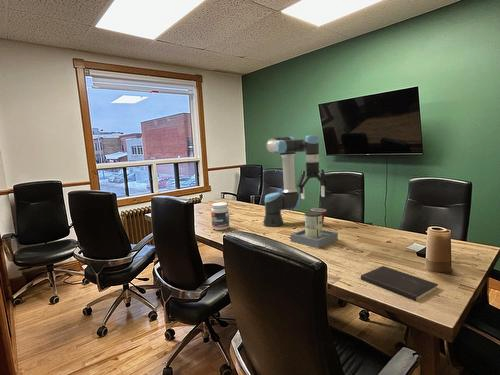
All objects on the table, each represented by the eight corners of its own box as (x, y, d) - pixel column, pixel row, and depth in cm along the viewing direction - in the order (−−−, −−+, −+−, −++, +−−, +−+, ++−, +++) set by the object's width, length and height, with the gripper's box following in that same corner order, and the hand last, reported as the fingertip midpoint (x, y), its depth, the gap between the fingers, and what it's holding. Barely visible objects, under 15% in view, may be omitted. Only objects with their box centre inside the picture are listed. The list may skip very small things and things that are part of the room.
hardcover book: (383, 270, 132) (383, 265, 131) (438, 289, 112) (438, 284, 112) (360, 280, 123) (360, 275, 123) (415, 303, 104) (416, 297, 104)
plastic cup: (327, 227, 204) (326, 210, 203) (311, 227, 207) (310, 210, 205) (326, 223, 215) (325, 207, 213) (311, 223, 217) (310, 207, 216)
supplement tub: (209, 230, 211) (207, 205, 208) (215, 226, 223) (214, 202, 221) (226, 231, 208) (225, 205, 205) (231, 226, 220) (230, 202, 218)
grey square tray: (290, 241, 178) (290, 234, 177) (310, 233, 191) (310, 227, 190) (318, 248, 163) (318, 240, 162) (337, 239, 176) (337, 232, 176)
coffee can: (306, 232, 183) (305, 210, 181) (323, 233, 180) (323, 211, 178) (303, 237, 173) (303, 214, 172) (321, 238, 170) (321, 215, 168)
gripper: (296, 163, 163) (297, 200, 166) (334, 160, 171) (334, 196, 174) (290, 162, 170) (291, 198, 173) (327, 160, 178) (327, 194, 181)
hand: (313, 197), depth 174 cm, fingers open, 13 cm apart
